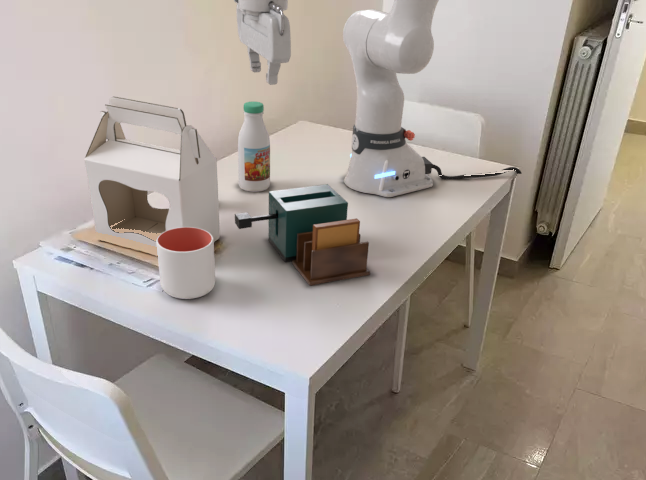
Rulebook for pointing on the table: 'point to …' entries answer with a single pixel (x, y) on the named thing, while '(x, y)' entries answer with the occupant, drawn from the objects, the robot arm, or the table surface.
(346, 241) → the toast
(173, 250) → the cup
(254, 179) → the milk bottle
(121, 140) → the gable box
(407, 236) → the table surface
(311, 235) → the toast rack
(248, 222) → the carriage
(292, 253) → the toaster
